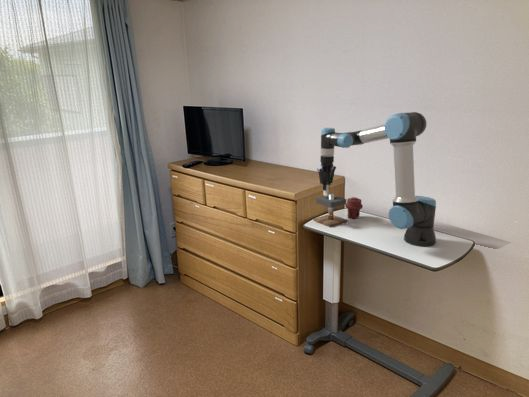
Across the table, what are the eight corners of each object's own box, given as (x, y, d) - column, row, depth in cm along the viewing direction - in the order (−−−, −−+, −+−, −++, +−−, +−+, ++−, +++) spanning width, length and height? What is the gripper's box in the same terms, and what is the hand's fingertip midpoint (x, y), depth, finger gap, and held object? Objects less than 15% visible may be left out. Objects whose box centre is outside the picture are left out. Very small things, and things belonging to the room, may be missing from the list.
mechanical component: (342, 218, 242) (349, 214, 249) (357, 221, 236) (364, 217, 244) (342, 198, 238) (350, 195, 246) (358, 201, 233) (365, 197, 240)
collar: (346, 204, 232) (346, 199, 231) (330, 207, 225) (331, 202, 224) (331, 199, 241) (331, 194, 240) (316, 203, 235) (316, 198, 234)
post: (334, 219, 235) (335, 194, 231) (330, 220, 234) (331, 195, 230) (330, 218, 238) (331, 193, 234) (326, 219, 236) (327, 194, 232)
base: (347, 222, 235) (347, 220, 234) (330, 227, 227) (330, 224, 226) (330, 216, 246) (330, 214, 245) (313, 220, 238) (313, 218, 237)
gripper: (330, 153, 236) (329, 192, 242) (314, 155, 229) (313, 195, 235) (340, 155, 230) (338, 195, 236) (323, 157, 223) (322, 198, 229)
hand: (325, 195), depth 236 cm, fingers closed
